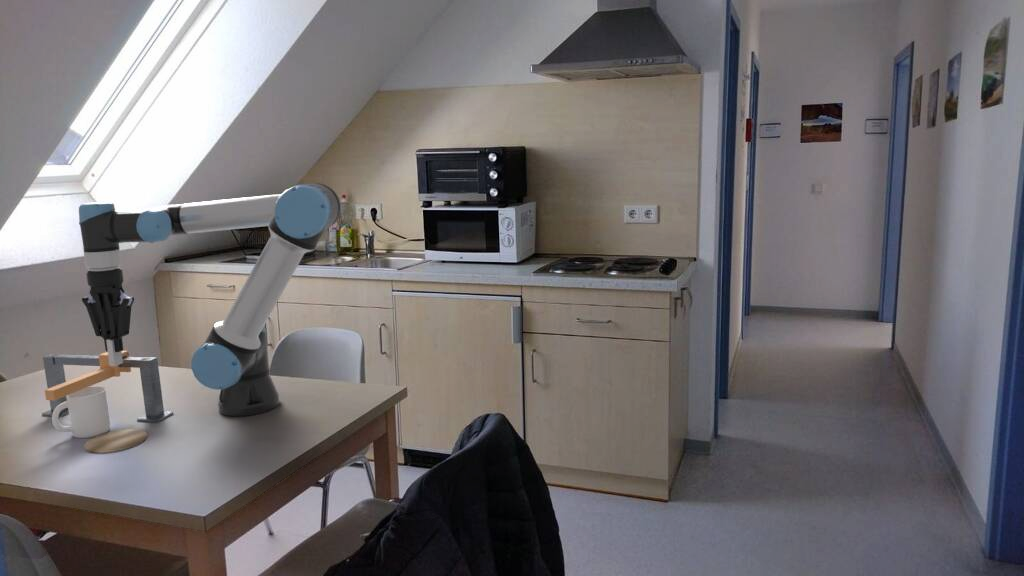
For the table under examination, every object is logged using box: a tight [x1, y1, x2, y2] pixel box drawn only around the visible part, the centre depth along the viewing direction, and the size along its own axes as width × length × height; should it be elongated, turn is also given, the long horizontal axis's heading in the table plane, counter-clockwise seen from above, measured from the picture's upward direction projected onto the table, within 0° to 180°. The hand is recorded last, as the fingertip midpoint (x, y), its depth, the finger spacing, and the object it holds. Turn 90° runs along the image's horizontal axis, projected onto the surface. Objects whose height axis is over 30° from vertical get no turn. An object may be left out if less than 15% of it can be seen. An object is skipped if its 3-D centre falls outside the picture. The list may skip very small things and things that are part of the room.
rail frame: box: [41, 353, 174, 423], centre depth 195 cm, size 35×6×16 cm, turn 77°
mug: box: [51, 386, 111, 439], centre depth 182 cm, size 12×8×10 cm
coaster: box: [84, 428, 148, 454], centre depth 177 cm, size 13×13×1 cm
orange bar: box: [44, 350, 132, 401], centre depth 184 cm, size 5×23×6 cm, turn 167°
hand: (116, 364), depth 183 cm, fingers closed
